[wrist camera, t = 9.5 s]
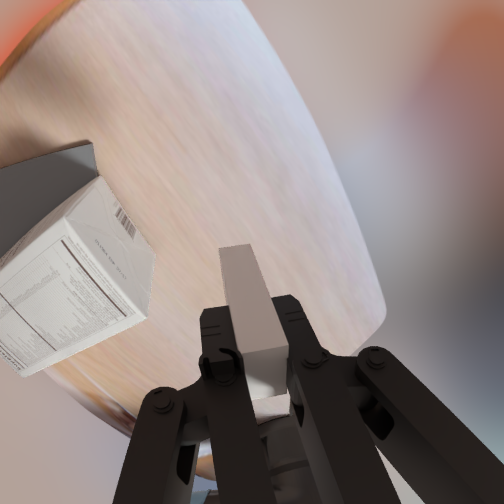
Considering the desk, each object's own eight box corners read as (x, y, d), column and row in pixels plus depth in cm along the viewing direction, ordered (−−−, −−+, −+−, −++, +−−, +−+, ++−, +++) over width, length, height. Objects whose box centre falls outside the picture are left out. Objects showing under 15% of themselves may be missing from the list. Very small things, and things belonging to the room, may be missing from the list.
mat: (121, 272, 29) (120, 276, 28) (-2, 287, 26) (-4, 290, 26) (92, 143, 22) (90, 144, 22) (-39, 183, 20) (-41, 185, 19)
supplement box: (101, 171, 23) (-6, 258, 24) (61, 212, 15) (-46, 311, 16) (158, 256, 28) (47, 320, 29) (150, 323, 20) (22, 381, 21)
